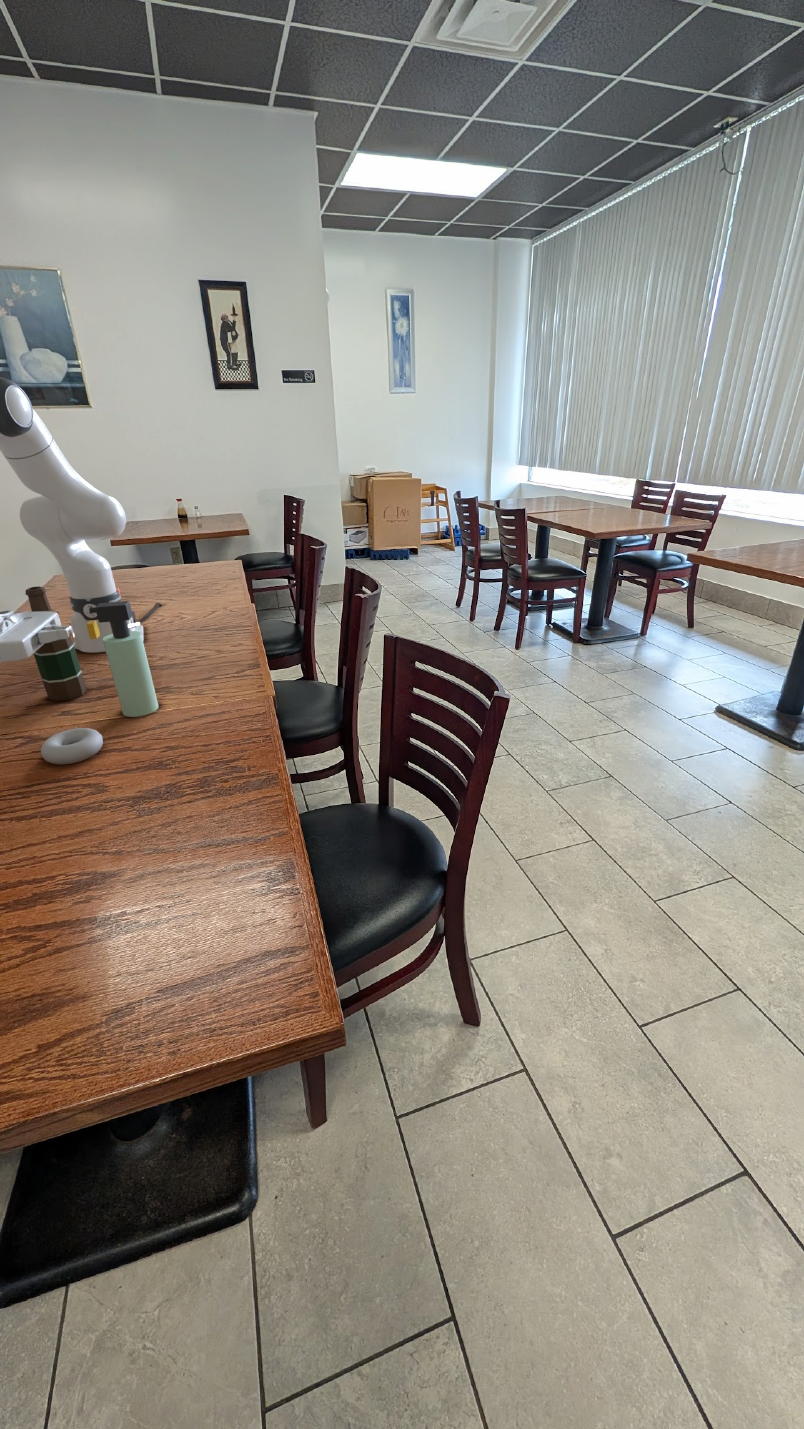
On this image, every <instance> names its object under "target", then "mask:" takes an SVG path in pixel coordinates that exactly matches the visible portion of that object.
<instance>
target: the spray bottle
mask: <svg viewBox="0 0 804 1429" xmlns="http://www.w3.org/2000/svg"><path fill="white" fill-rule="evenodd" d="M89 611H90V613H97V617H98V620H99V623H102V622H110V625H111V629H112V633H113V634H110V635H107V636H105V637H104V638H103V643H104V646H105V650H106V652H105V653H106V657H107V661H108V664H109V668H110V672H111V676H112V679H113V682H114V688H115V691H116V695H117V698H118V701H119V706H120V708H121V713H122V715H123V716H125V717H127V718H137V717H138V718H140V717H143V716H147V715H150V714H152V713H154V712H156V711H157V710H158V709H159V702H158V698H157V694H156V690H155V685H154V682H153V678H152V672H151V668H150V666H149V664H150V663H149V661H148V656H147V653H146V648H145V645H144V644H145V643H144V641H143V639H142V635H141V633H140V632H138V631H129V628H128V624H127V620H130V619H131V617H132V616H133V614H132V611H133V610H132V607H131V602H130V600H122V601H121V602H108V603H99V604H98V605H97V606H96V607H94V608H89Z"/></svg>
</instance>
